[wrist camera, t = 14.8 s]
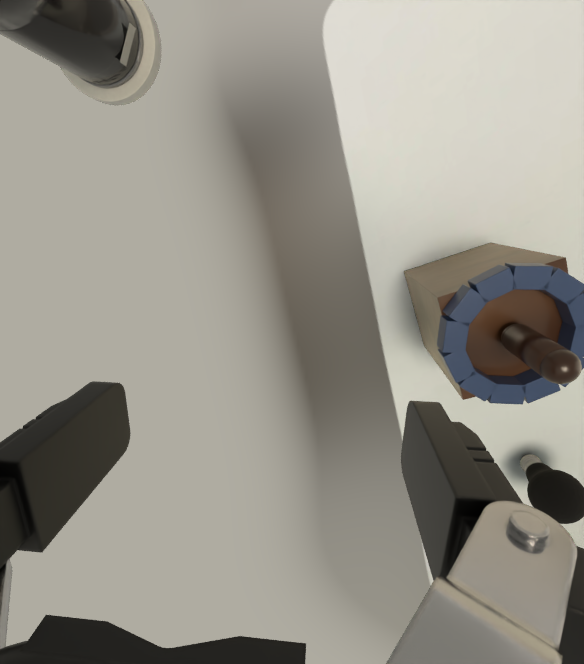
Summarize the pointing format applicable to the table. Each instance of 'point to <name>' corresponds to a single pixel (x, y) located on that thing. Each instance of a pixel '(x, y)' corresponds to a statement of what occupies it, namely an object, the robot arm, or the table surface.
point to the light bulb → (553, 491)
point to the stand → (495, 316)
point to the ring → (568, 293)
